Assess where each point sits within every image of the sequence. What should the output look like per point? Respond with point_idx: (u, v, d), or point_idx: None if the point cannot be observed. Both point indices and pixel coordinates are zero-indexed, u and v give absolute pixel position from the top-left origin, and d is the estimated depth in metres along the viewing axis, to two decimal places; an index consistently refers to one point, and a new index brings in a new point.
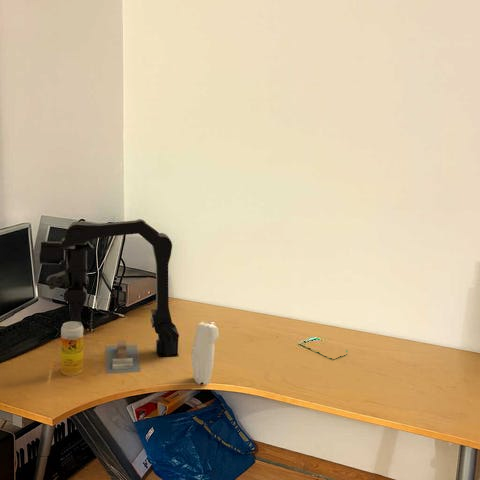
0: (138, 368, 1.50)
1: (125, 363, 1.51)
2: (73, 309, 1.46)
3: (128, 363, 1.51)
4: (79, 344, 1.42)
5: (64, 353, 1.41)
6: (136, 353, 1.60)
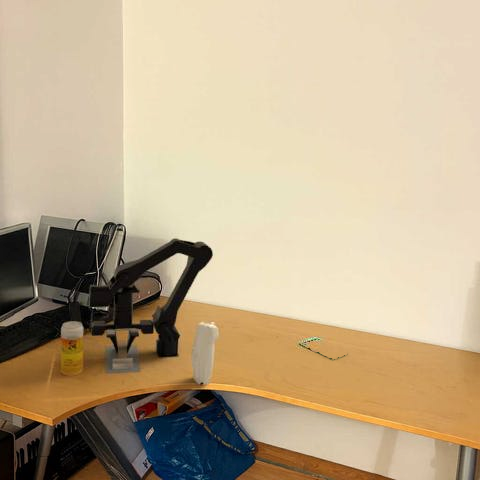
0: (138, 368, 1.50)
1: (125, 363, 1.51)
2: None
3: (128, 363, 1.51)
4: (79, 344, 1.42)
5: (64, 353, 1.41)
6: (136, 353, 1.60)
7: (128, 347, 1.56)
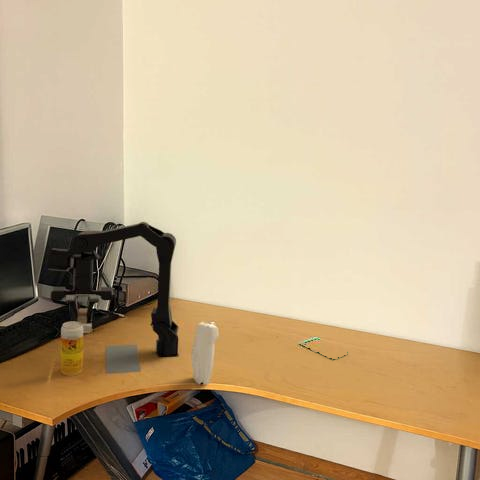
0: (138, 368, 1.50)
1: (83, 327, 1.52)
2: None
3: (86, 328, 1.52)
4: (79, 344, 1.42)
5: (64, 353, 1.41)
6: (136, 353, 1.60)
7: (88, 313, 1.58)
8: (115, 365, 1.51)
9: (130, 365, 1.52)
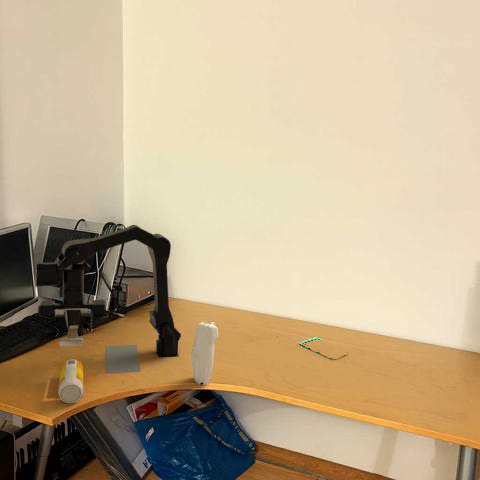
0: (138, 368, 1.50)
1: (73, 340, 1.41)
2: None
3: (77, 340, 1.41)
4: None
5: None
6: (136, 353, 1.60)
7: (79, 328, 1.47)
8: (115, 365, 1.51)
9: (130, 365, 1.52)
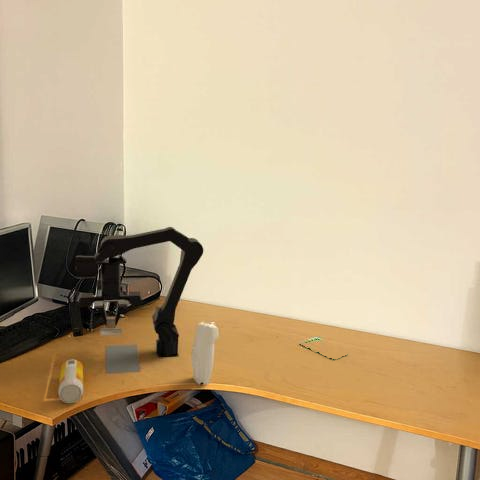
0: (138, 368, 1.50)
1: (113, 330, 1.49)
2: None
3: (116, 330, 1.49)
4: None
5: None
6: (136, 353, 1.60)
7: (117, 319, 1.55)
8: (115, 365, 1.51)
9: (130, 365, 1.52)
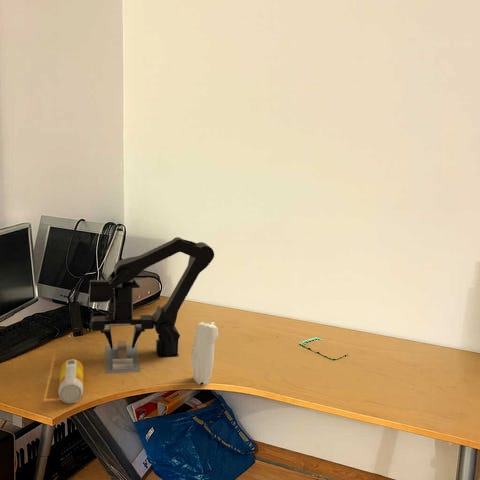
0: (138, 368, 1.50)
1: (125, 363, 1.50)
2: None
3: (128, 363, 1.50)
4: None
5: None
6: (136, 353, 1.60)
7: (134, 342, 1.56)
8: None
9: None
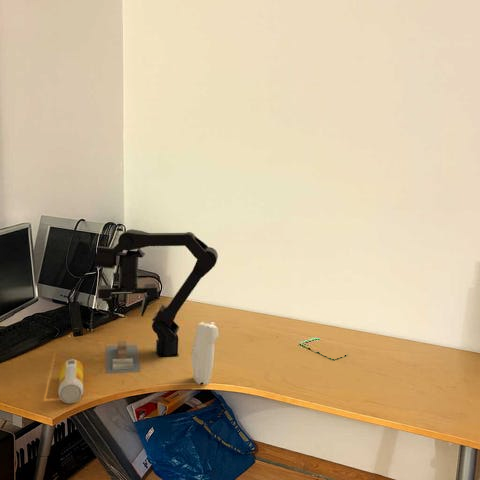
0: (138, 368, 1.50)
1: (125, 363, 1.50)
2: None
3: (128, 363, 1.50)
4: None
5: None
6: (136, 353, 1.60)
7: (143, 310, 1.60)
8: None
9: None
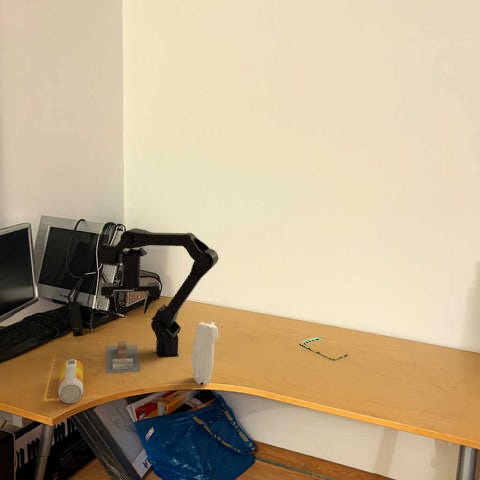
0: (138, 368, 1.50)
1: (125, 363, 1.50)
2: None
3: (128, 363, 1.50)
4: None
5: None
6: (136, 353, 1.60)
7: (146, 308, 1.62)
8: None
9: None
